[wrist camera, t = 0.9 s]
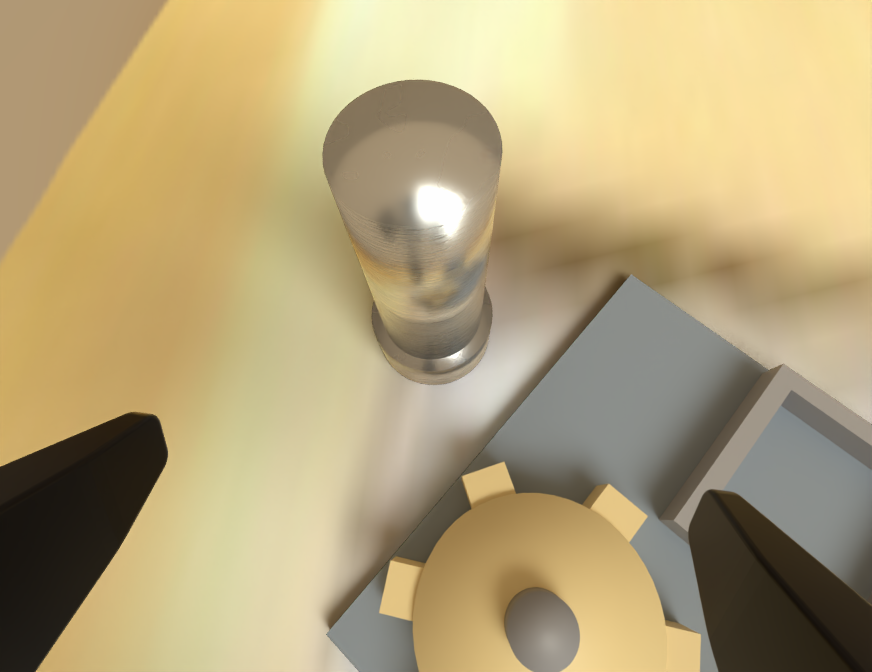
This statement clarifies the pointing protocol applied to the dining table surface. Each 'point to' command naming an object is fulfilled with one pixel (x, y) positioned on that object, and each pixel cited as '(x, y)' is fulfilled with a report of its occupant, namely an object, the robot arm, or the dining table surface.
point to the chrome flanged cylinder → (420, 219)
